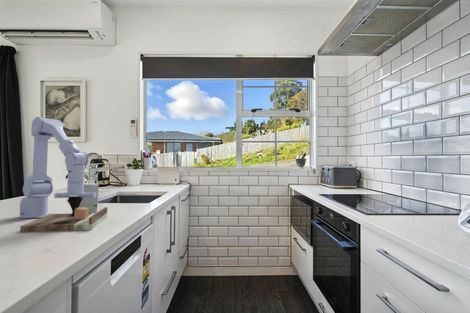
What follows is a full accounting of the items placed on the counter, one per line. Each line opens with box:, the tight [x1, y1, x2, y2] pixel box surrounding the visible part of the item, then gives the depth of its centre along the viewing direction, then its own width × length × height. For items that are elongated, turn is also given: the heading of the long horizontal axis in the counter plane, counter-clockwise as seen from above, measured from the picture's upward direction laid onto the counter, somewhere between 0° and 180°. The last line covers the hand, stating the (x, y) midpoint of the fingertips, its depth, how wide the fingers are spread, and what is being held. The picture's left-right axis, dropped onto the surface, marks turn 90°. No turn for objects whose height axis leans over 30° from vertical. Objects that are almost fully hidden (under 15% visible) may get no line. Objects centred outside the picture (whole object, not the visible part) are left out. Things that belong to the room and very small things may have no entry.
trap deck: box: [19, 206, 108, 233], centre depth 106 cm, size 23×22×4 cm
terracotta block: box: [74, 207, 89, 220], centre depth 107 cm, size 4×4×4 cm
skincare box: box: [79, 182, 99, 213], centre depth 122 cm, size 8×6×15 cm
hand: (74, 215), depth 106 cm, fingers closed, pressing on terracotta block
